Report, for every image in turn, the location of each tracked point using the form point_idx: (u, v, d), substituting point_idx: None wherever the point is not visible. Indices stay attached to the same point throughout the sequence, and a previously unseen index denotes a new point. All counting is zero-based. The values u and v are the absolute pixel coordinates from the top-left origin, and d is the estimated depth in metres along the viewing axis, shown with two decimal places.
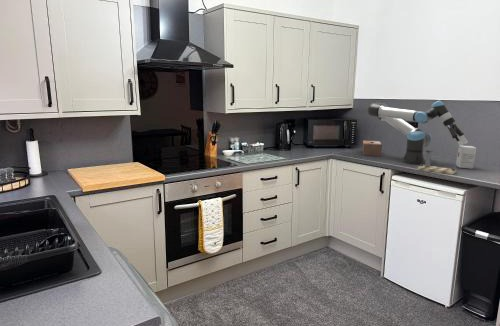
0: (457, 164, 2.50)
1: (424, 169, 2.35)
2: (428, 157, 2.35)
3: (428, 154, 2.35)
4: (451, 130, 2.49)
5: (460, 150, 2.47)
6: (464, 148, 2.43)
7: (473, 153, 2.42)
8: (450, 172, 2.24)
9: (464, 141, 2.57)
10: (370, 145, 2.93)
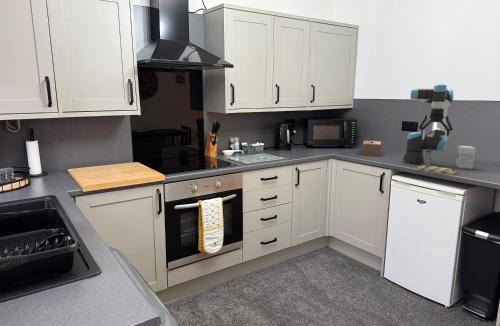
0: (457, 164, 2.50)
1: (424, 169, 2.35)
2: (428, 157, 2.35)
3: (428, 154, 2.35)
4: (423, 121, 2.37)
5: (459, 151, 2.47)
6: (463, 148, 2.43)
7: (472, 153, 2.42)
8: (450, 172, 2.24)
9: None
10: (369, 145, 2.94)
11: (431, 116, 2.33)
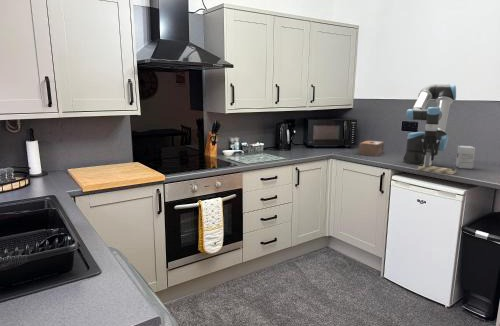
0: (457, 164, 2.50)
1: (424, 169, 2.35)
2: (428, 157, 2.35)
3: (428, 154, 2.35)
4: None
5: (459, 151, 2.47)
6: (463, 148, 2.43)
7: (472, 153, 2.42)
8: (450, 172, 2.24)
9: None
10: (365, 145, 2.95)
11: (425, 138, 2.36)
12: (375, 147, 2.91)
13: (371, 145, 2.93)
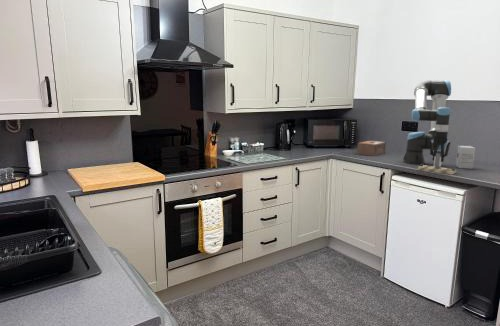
0: (457, 164, 2.50)
1: (424, 169, 2.35)
2: (438, 158, 2.31)
3: (438, 155, 2.31)
4: None
5: (459, 151, 2.47)
6: (463, 148, 2.43)
7: (472, 153, 2.42)
8: (450, 172, 2.24)
9: None
10: (363, 144, 2.97)
11: (434, 139, 2.32)
12: (373, 147, 2.92)
13: (369, 145, 2.94)
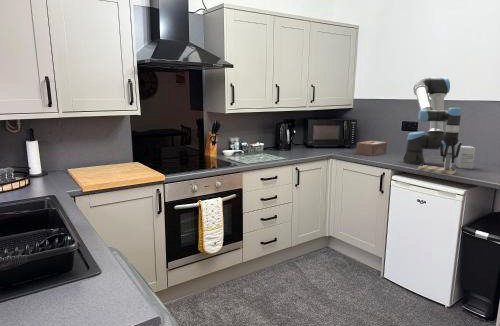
0: (457, 164, 2.50)
1: (424, 169, 2.35)
2: (448, 159, 2.27)
3: (448, 156, 2.27)
4: None
5: (459, 151, 2.47)
6: (463, 148, 2.43)
7: (472, 153, 2.42)
8: (450, 172, 2.24)
9: None
10: (362, 144, 2.98)
11: (445, 140, 2.27)
12: (371, 147, 2.92)
13: (367, 145, 2.94)
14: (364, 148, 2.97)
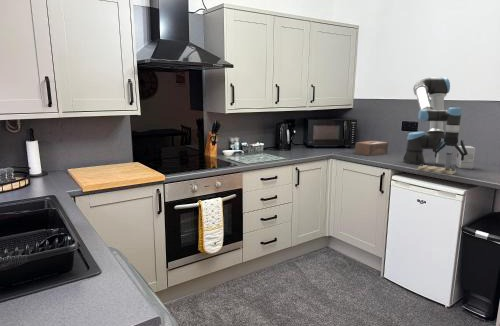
0: (457, 164, 2.50)
1: (424, 169, 2.35)
2: (448, 159, 2.27)
3: (448, 156, 2.27)
4: (437, 144, 2.32)
5: None
6: None
7: (472, 153, 2.42)
8: (450, 172, 2.24)
9: None
10: (360, 144, 2.99)
11: (445, 139, 2.27)
12: (368, 147, 2.93)
13: (365, 145, 2.95)
14: (362, 148, 2.98)
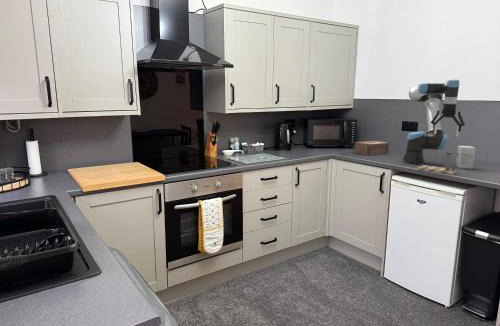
0: (457, 164, 2.50)
1: (424, 169, 2.35)
2: (448, 159, 2.27)
3: (448, 156, 2.27)
4: None
5: (459, 151, 2.47)
6: (463, 148, 2.43)
7: (472, 153, 2.42)
8: (450, 172, 2.24)
9: None
10: (359, 144, 3.01)
11: (443, 111, 2.34)
12: (366, 146, 2.94)
13: (363, 144, 2.97)
14: (361, 147, 2.99)
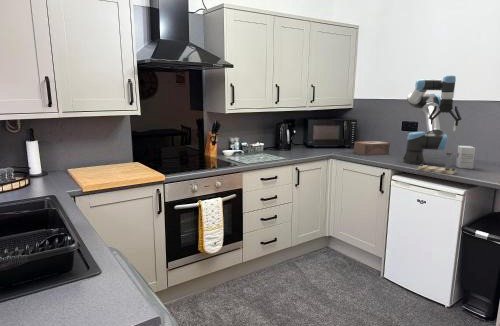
0: (457, 164, 2.50)
1: (424, 169, 2.35)
2: (448, 159, 2.27)
3: (448, 156, 2.27)
4: None
5: (459, 151, 2.47)
6: (463, 148, 2.43)
7: (472, 153, 2.42)
8: (450, 172, 2.24)
9: None
10: (358, 143, 3.03)
11: (440, 106, 2.39)
12: (364, 146, 2.95)
13: (361, 144, 2.98)
14: (359, 147, 3.01)
